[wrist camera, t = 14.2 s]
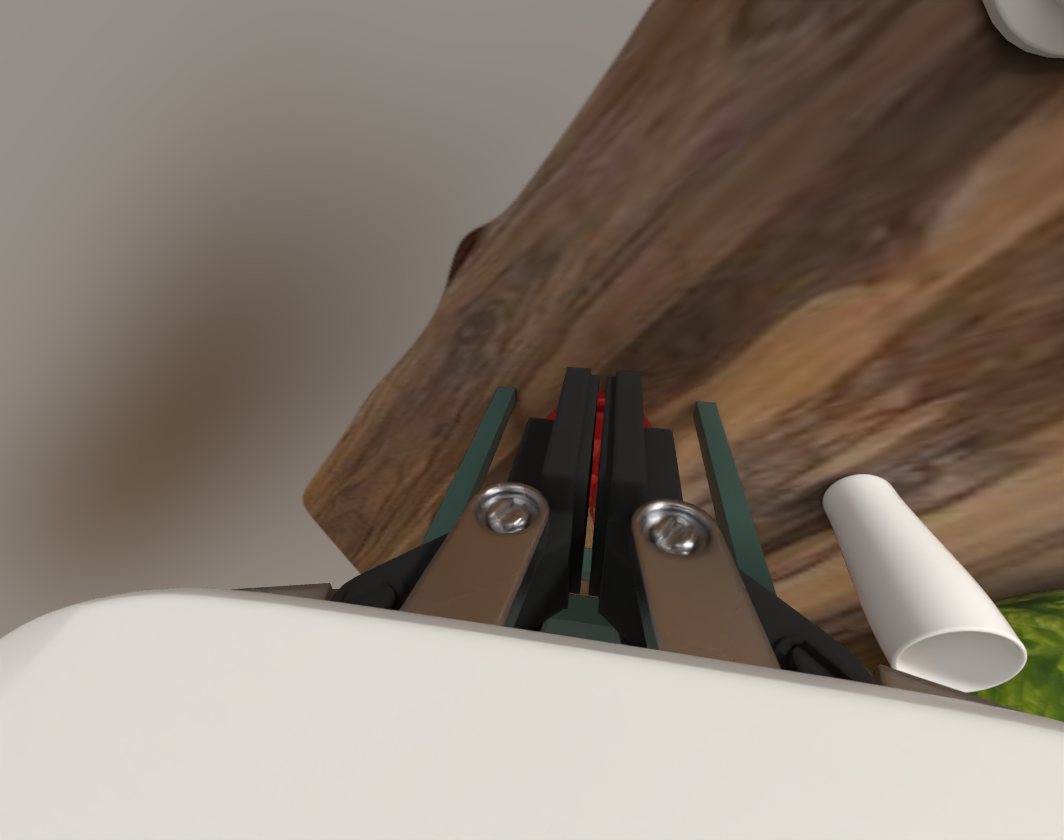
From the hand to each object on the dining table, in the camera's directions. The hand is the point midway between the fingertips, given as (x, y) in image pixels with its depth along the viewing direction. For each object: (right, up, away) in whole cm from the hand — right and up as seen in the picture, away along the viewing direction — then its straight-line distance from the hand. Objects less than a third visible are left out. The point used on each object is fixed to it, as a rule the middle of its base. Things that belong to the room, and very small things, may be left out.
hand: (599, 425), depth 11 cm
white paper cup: (+26, -6, +29) cm, 40 cm away
